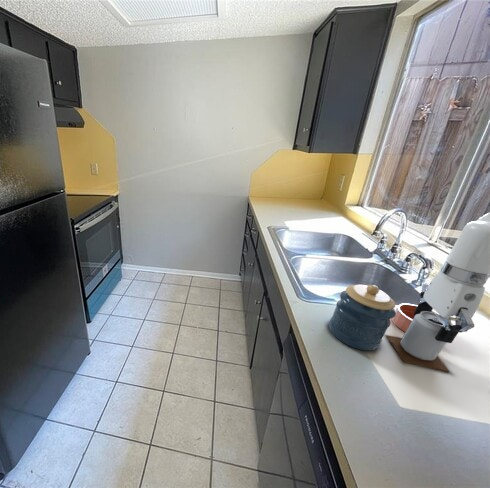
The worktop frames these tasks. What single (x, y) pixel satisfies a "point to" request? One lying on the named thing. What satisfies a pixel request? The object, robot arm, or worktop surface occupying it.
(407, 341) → the can
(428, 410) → the worktop surface
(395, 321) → the bowl
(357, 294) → the canister
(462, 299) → the robot arm
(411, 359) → the mat
